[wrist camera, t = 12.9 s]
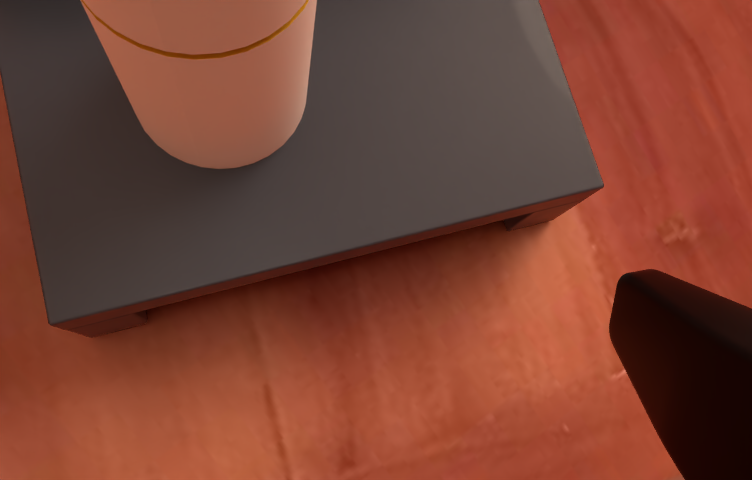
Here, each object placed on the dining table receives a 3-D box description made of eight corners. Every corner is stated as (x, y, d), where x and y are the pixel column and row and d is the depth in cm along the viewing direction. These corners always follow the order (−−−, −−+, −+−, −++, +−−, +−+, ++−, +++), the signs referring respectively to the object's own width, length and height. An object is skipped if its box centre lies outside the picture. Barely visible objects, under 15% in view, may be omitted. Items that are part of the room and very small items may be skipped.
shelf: (553, 219, 21) (669, 146, 15) (89, 338, 19) (-5, 309, 12) (459, -60, 23) (528, -229, 17) (22, 12, 20) (-89, -159, 14)
